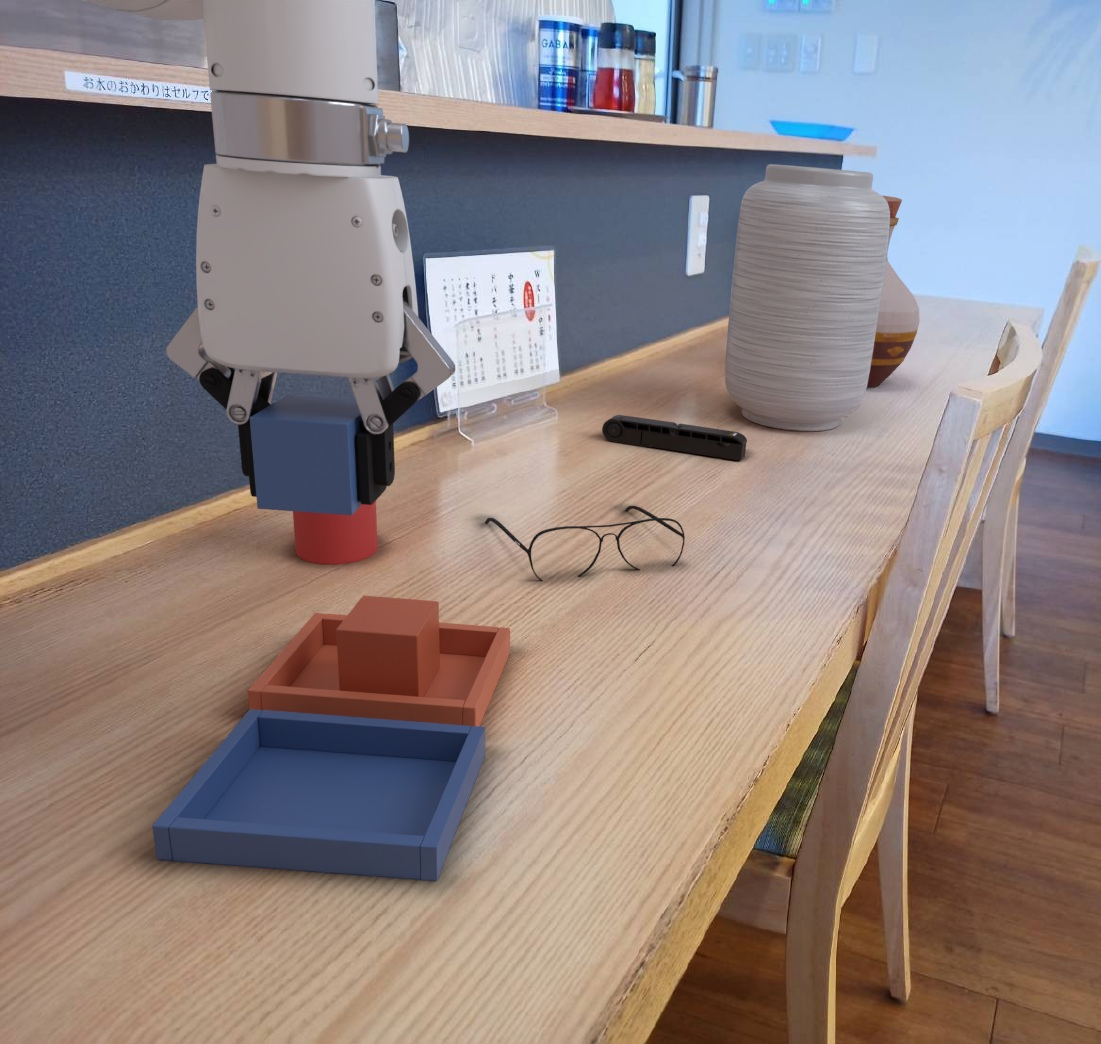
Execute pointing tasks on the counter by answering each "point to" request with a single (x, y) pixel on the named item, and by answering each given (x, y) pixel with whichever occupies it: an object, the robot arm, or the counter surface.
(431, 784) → the blue tray
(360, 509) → the beer can
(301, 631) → the terracotta tray
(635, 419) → the tablet stand
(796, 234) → the vase
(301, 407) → the blue block
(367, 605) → the terracotta block
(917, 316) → the jug
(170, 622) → the counter surface
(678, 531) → the glasses
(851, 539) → the counter surface
